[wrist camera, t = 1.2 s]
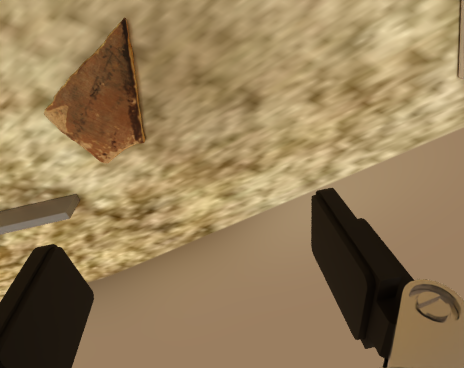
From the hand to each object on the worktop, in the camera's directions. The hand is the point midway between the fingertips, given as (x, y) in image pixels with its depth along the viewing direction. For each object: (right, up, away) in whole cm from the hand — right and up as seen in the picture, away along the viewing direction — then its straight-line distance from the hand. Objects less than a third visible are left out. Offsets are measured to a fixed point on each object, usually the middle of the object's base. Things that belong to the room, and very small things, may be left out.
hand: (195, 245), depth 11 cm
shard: (-11, +10, +14) cm, 20 cm away
